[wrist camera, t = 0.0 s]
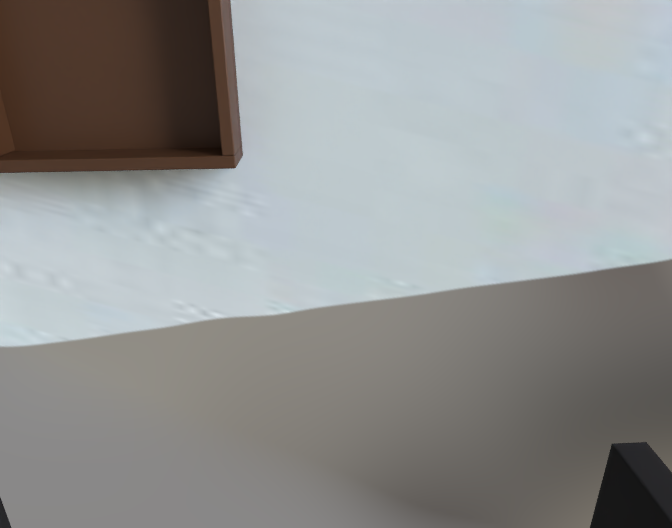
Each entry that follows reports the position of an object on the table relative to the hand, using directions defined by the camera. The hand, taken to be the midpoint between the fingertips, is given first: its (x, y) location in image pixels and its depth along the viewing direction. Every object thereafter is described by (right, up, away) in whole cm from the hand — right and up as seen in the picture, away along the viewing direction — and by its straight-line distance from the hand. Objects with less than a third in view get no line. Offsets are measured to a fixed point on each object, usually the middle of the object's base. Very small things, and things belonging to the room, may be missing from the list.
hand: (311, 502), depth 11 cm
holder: (-14, +20, +21) cm, 32 cm away
